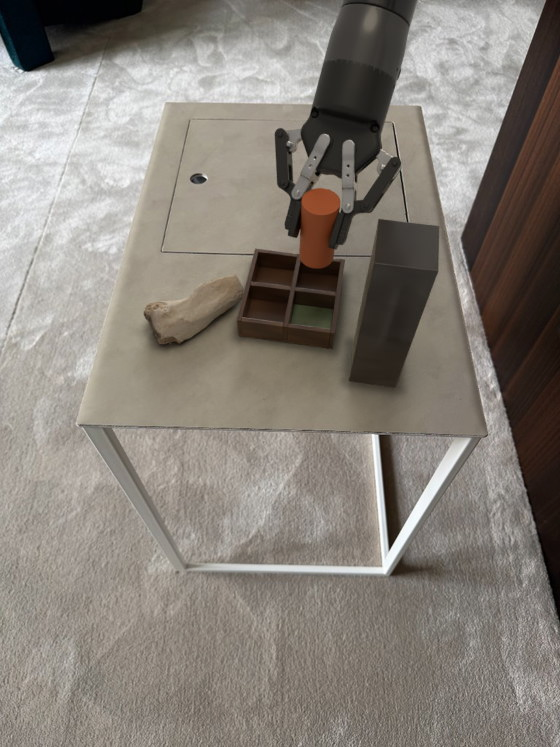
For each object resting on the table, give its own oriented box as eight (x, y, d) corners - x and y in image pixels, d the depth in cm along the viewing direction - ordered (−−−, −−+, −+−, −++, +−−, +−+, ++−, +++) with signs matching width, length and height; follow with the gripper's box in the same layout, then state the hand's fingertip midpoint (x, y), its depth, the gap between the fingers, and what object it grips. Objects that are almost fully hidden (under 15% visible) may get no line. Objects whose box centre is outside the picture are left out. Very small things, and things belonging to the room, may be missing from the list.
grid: (342, 276, 79) (345, 259, 76) (332, 349, 72) (334, 333, 69) (256, 265, 80) (255, 248, 77) (238, 336, 74) (236, 320, 70)
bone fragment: (163, 355, 72) (156, 334, 68) (145, 321, 75) (137, 299, 71) (253, 315, 75) (252, 293, 71) (233, 284, 78) (230, 262, 74)
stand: (397, 349, 72) (439, 225, 54) (395, 387, 69) (438, 271, 51) (353, 343, 73) (378, 218, 54) (348, 381, 70) (374, 263, 51)
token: (335, 245, 64) (342, 190, 57) (331, 270, 62) (338, 217, 55) (301, 240, 64) (304, 185, 57) (296, 266, 62) (298, 212, 55)
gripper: (283, 42, 52) (240, 223, 56) (431, 73, 49) (373, 261, 54) (301, 68, 59) (261, 227, 63) (430, 97, 56) (379, 260, 61)
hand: (312, 241), depth 58 cm, fingers closed on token, 4 cm apart
